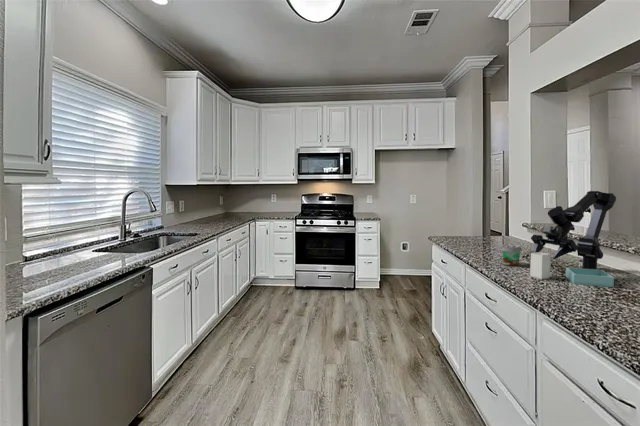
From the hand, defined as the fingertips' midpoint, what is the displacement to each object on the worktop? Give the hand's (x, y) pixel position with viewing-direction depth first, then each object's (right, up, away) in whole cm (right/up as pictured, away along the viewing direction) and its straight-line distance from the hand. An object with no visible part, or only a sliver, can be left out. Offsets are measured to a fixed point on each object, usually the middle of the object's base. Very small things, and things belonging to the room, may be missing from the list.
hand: (543, 256), depth 159 cm
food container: (0, -8, +24) cm, 25 cm away
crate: (+15, -10, -7) cm, 19 cm away
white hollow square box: (-2, -10, 0) cm, 10 cm away
